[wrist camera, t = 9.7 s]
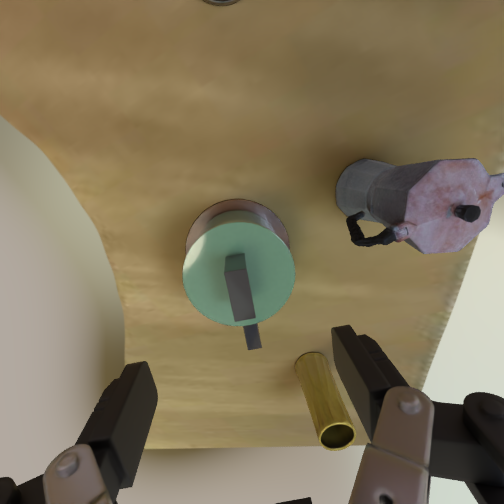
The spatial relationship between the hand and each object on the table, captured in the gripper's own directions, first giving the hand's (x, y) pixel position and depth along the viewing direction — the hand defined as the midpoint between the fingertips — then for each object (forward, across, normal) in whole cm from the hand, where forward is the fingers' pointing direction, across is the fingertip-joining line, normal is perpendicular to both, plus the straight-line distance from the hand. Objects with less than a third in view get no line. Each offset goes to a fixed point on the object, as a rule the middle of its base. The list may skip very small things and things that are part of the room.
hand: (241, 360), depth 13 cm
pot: (+32, +1, +9) cm, 33 cm away
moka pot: (+33, -19, 0) cm, 38 cm away
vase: (+33, -8, +30) cm, 46 cm away
